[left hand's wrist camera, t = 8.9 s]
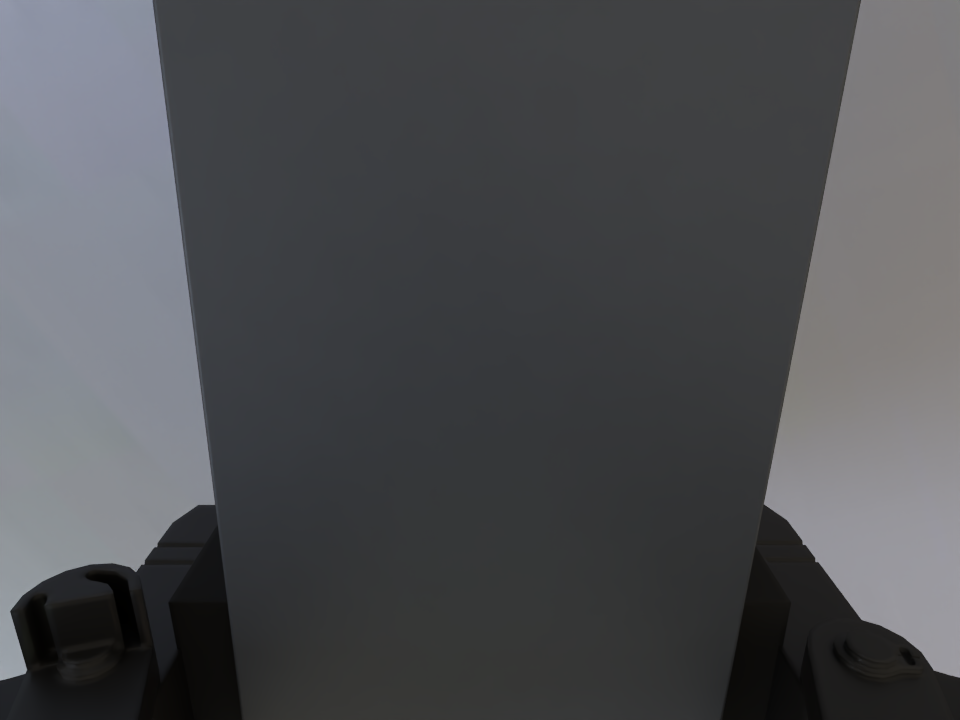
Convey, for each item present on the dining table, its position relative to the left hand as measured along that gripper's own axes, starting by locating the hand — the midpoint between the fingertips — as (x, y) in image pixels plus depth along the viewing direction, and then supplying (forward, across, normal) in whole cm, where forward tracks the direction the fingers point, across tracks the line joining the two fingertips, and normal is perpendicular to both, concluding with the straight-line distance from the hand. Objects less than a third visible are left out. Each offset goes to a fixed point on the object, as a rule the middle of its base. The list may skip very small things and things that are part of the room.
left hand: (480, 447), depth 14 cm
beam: (+1, -1, -33) cm, 33 cm away
